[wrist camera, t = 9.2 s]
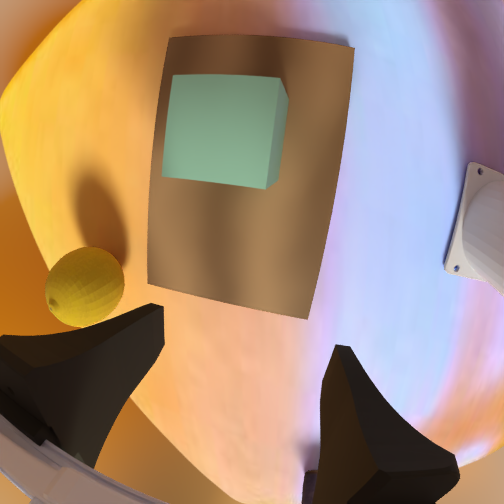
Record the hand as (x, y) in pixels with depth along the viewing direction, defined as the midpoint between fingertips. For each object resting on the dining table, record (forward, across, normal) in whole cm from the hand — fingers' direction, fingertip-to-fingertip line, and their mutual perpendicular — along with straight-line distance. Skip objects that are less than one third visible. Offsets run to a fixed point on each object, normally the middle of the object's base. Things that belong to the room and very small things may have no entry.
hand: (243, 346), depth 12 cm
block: (+8, +3, -8) cm, 12 cm away
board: (+9, +3, -6) cm, 12 cm away
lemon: (+10, +13, +3) cm, 16 cm away
